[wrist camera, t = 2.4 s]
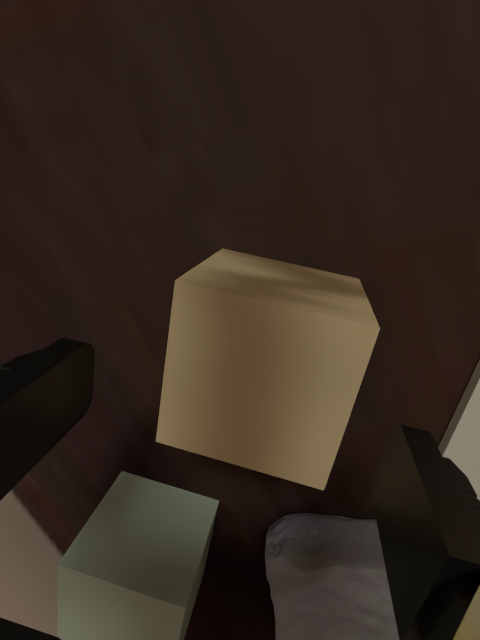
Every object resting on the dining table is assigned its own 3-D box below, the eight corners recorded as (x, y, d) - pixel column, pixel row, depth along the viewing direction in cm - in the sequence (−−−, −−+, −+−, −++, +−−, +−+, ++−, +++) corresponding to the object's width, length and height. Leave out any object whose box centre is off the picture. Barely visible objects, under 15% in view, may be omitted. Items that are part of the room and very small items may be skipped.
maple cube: (359, 278, 15) (380, 328, 10) (322, 397, 17) (324, 490, 12) (222, 248, 15) (175, 280, 10) (203, 366, 17) (155, 441, 12)
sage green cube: (219, 499, 20) (185, 608, 15) (204, 569, 22) (169, 686, 17) (122, 470, 20) (57, 564, 15) (116, 540, 22) (57, 644, 17)
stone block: (489, 623, 21) (536, 518, 16) (525, 746, 17) (600, 657, 12) (281, 587, 24) (267, 489, 19) (270, 685, 20) (249, 594, 15)
